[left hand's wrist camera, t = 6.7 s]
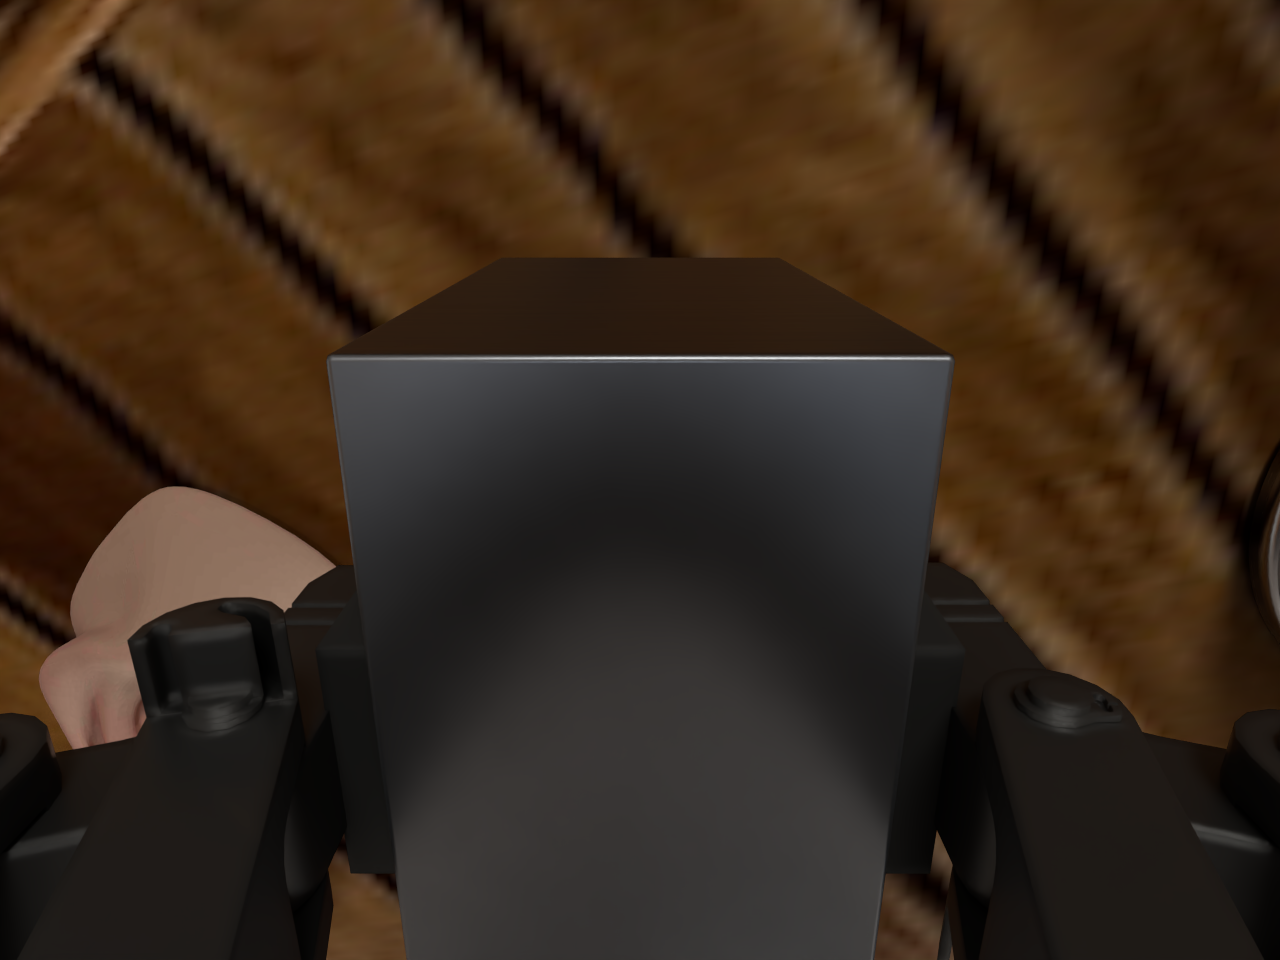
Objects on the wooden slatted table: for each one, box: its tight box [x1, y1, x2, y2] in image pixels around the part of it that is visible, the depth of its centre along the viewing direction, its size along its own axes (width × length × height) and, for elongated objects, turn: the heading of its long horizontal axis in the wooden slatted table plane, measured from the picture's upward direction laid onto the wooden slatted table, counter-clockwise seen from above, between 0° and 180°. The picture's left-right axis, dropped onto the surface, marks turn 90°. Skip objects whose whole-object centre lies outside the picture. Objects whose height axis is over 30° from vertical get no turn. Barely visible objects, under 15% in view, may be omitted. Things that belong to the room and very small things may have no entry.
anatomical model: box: [39, 486, 336, 749], centre depth 28 cm, size 13×4×12 cm
